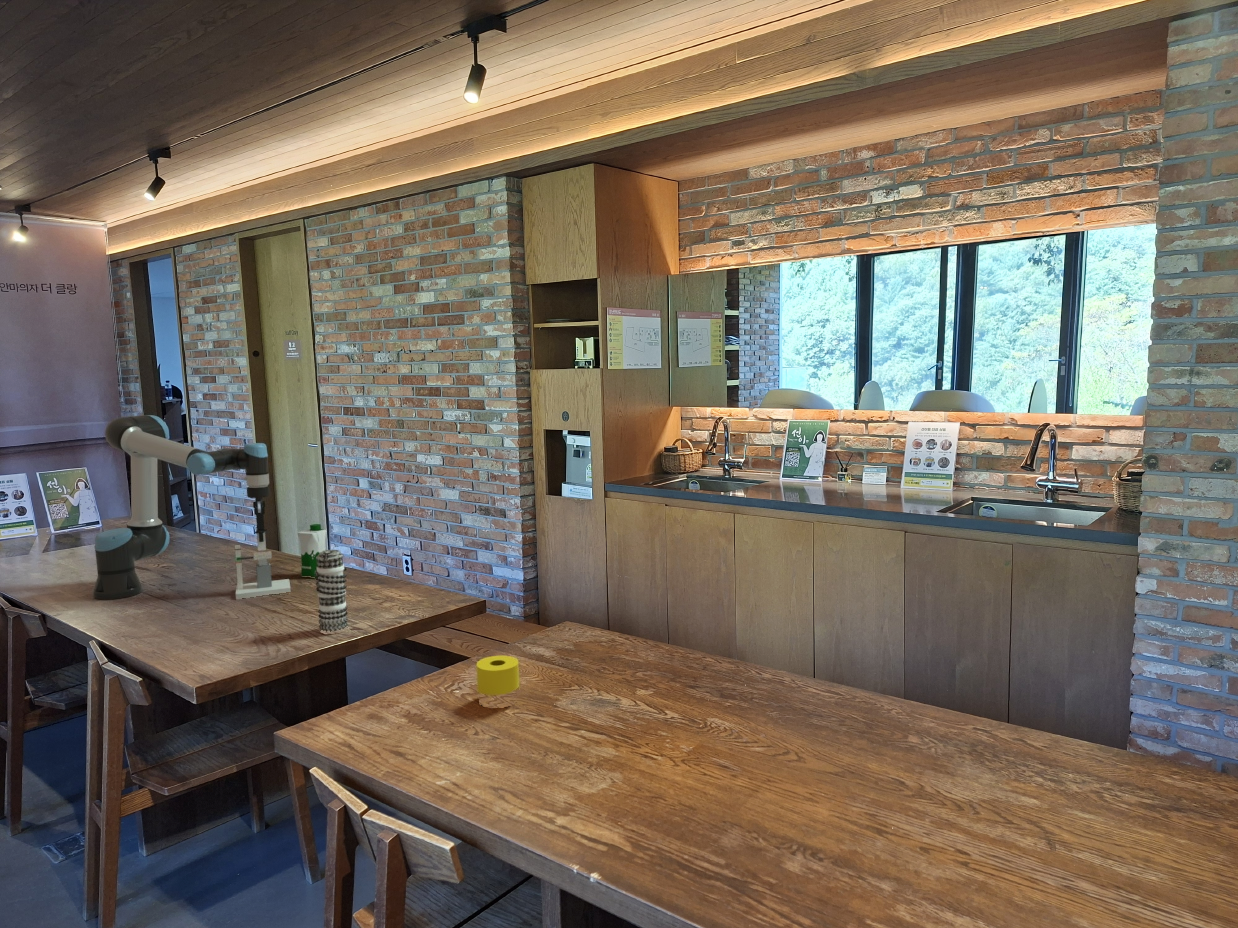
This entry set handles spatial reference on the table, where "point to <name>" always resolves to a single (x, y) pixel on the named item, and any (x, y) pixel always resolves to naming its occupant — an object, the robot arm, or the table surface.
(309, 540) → the milk carton
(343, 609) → the decorative candle
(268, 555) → the square paddle
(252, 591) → the stand
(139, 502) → the robot arm
